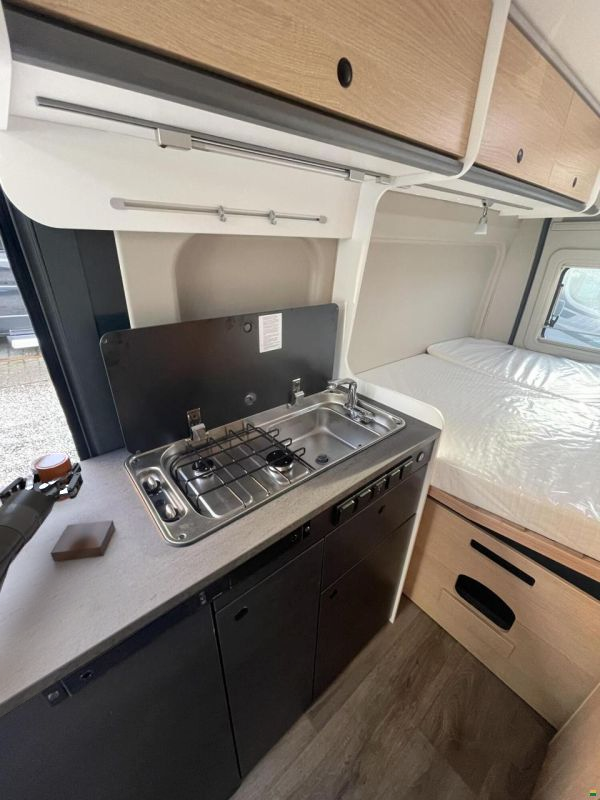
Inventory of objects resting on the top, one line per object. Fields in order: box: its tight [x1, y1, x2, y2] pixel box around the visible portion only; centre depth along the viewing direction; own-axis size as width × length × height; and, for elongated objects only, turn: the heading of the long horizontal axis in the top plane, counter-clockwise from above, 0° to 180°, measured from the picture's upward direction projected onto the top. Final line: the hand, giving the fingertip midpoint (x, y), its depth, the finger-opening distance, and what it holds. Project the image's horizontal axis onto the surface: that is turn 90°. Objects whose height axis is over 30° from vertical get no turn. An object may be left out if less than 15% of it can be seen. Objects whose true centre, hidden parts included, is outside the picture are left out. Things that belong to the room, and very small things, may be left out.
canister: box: [35, 452, 73, 503], centre depth 74 cm, size 6×6×9 cm
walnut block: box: [50, 520, 116, 563], centre depth 76 cm, size 10×8×4 cm
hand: (61, 467), depth 75 cm, fingers closed on canister, 6 cm apart
